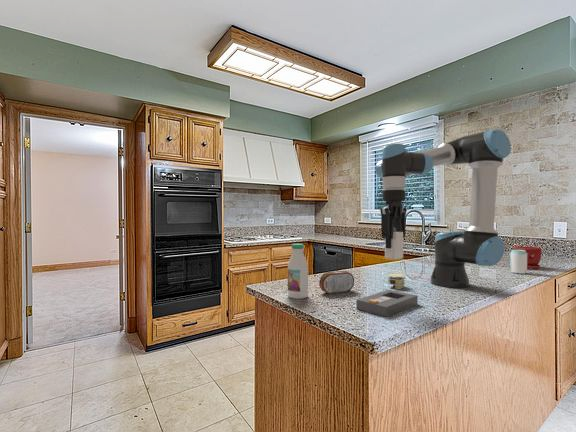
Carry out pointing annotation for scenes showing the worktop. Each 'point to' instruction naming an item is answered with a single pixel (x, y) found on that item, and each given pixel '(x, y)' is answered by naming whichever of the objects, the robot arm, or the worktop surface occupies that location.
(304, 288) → the milk bottle
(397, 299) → the power strip
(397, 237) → the block
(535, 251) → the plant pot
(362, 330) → the worktop surface
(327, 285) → the tin
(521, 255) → the can
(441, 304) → the worktop surface
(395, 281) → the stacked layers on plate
